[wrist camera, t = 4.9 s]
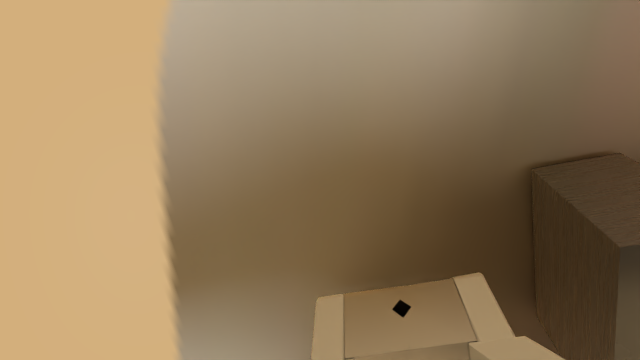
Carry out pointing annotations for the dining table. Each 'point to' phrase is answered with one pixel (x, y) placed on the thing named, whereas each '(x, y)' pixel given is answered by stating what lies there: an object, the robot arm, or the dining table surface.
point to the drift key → (588, 256)
